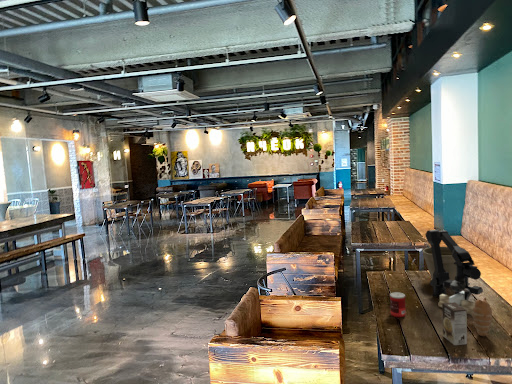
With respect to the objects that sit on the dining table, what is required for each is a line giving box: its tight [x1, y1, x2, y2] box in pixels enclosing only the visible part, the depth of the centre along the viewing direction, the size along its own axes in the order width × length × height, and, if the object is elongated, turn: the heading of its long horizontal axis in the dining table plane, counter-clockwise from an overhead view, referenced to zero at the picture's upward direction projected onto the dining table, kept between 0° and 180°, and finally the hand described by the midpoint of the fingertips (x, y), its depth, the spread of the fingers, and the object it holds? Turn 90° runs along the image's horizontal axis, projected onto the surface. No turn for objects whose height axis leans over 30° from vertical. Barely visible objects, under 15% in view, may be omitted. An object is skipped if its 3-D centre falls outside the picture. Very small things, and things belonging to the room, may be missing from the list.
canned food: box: [389, 291, 407, 318], centre depth 207 cm, size 8×8×11 cm
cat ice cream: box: [472, 296, 493, 337], centre depth 178 cm, size 9×8×18 cm
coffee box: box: [442, 302, 468, 346], centre depth 176 cm, size 9×6×16 cm
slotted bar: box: [449, 290, 466, 305], centre depth 208 cm, size 14×3×8 cm, turn 125°
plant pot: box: [422, 246, 464, 288], centre depth 250 cm, size 25×25×22 cm
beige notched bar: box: [437, 294, 476, 317], centre depth 208 cm, size 20×6×6 cm, turn 35°
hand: (462, 302), depth 210 cm, fingers closed on slotted bar, 3 cm apart
